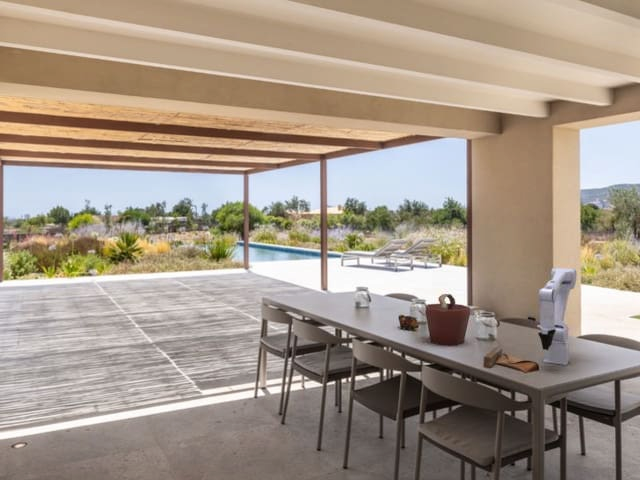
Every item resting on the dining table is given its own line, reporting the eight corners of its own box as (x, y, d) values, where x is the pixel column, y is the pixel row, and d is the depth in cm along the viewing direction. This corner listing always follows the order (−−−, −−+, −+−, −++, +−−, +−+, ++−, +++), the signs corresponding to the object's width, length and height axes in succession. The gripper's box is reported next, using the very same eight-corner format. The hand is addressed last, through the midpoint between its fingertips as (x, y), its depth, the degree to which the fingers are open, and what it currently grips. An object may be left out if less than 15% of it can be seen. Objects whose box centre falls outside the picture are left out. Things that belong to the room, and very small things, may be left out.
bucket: (453, 349, 253) (453, 298, 252) (414, 342, 268) (414, 294, 267) (475, 341, 271) (476, 294, 270) (438, 335, 286) (438, 290, 285)
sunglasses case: (491, 363, 228) (496, 349, 230) (499, 369, 232) (504, 355, 233) (527, 373, 213) (532, 358, 215) (535, 379, 217) (541, 364, 219)
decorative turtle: (402, 326, 311) (404, 313, 311) (423, 331, 300) (424, 318, 299) (392, 327, 305) (393, 313, 304) (412, 333, 293) (413, 319, 293)
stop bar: (501, 357, 238) (501, 348, 238) (490, 368, 221) (490, 357, 221) (495, 356, 239) (495, 347, 239) (483, 367, 223) (483, 356, 222)
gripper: (540, 312, 230) (539, 343, 231) (534, 318, 218) (534, 350, 218) (557, 314, 226) (556, 344, 227) (552, 319, 214) (552, 352, 214)
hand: (547, 347), depth 222 cm, fingers open, 7 cm apart
